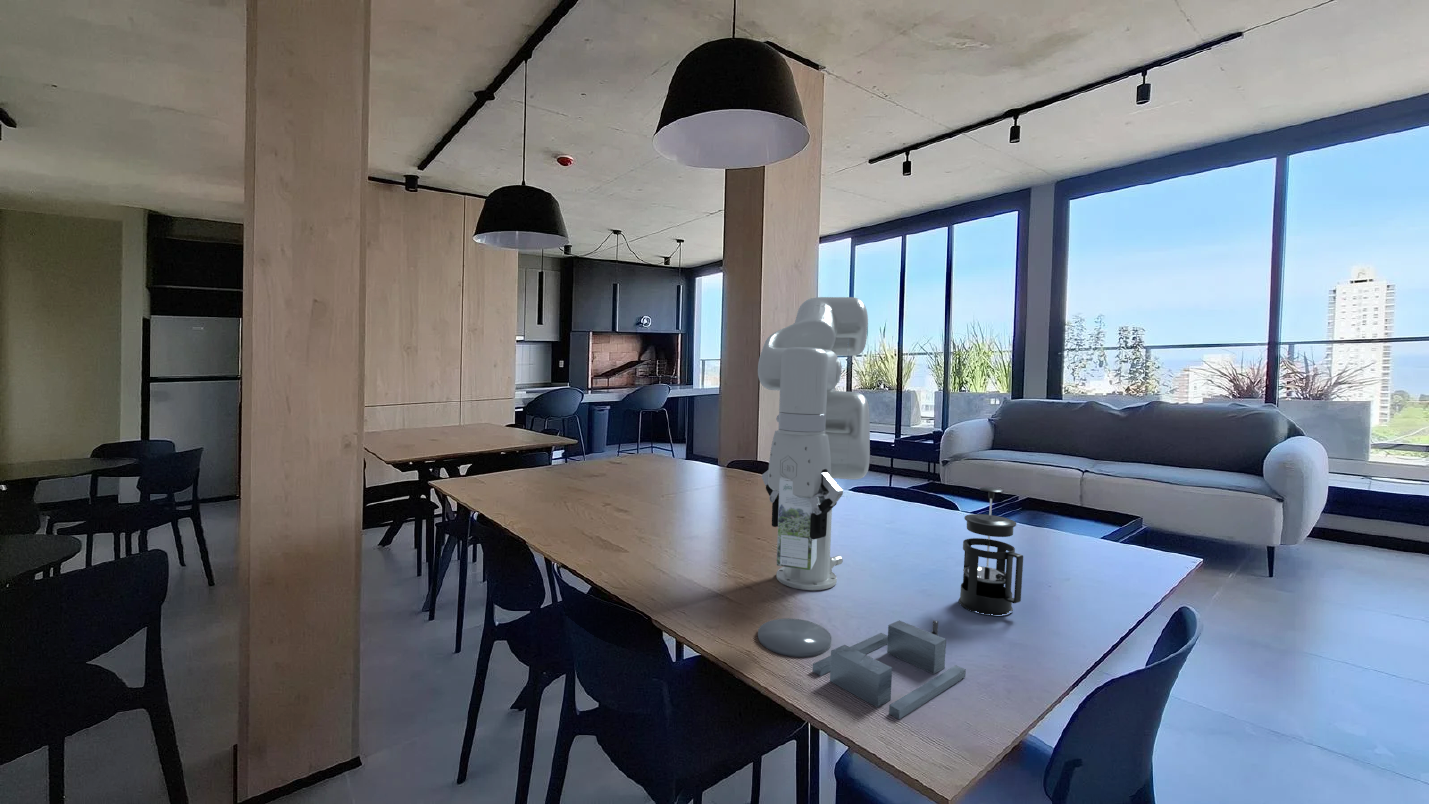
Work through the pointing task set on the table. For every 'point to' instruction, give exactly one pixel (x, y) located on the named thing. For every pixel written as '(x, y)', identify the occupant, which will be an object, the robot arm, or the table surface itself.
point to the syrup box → (794, 529)
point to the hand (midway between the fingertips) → (798, 530)
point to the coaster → (794, 637)
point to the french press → (986, 583)
